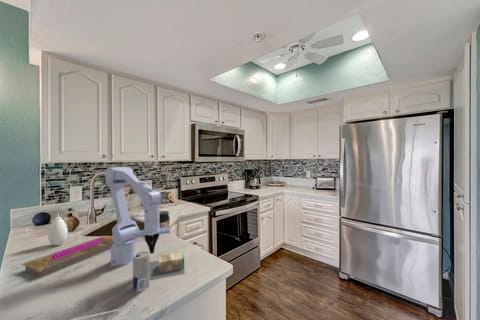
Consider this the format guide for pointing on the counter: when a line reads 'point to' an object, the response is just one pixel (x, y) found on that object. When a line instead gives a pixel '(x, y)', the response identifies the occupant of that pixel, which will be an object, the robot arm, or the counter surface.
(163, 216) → the supplement container
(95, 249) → the brown long flat block
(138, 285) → the energy drink
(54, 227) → the white egg candle
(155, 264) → the rubber mat
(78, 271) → the counter surface
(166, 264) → the oak block
